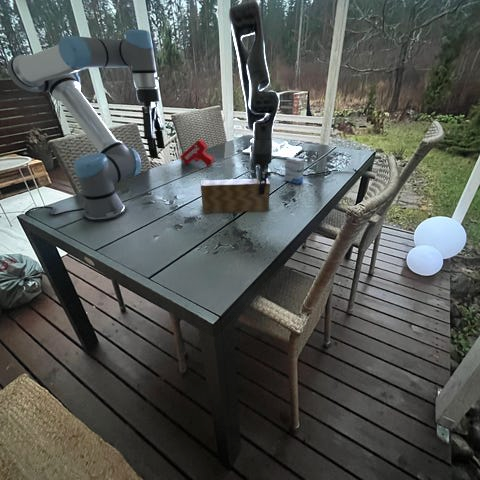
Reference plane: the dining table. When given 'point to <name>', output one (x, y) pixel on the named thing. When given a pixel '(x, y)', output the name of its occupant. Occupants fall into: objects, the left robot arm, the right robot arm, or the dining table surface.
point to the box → (234, 195)
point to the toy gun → (197, 153)
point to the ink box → (294, 170)
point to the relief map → (281, 150)
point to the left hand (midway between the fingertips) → (158, 152)
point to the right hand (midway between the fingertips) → (260, 191)
